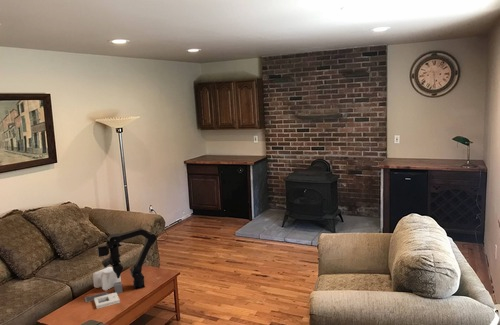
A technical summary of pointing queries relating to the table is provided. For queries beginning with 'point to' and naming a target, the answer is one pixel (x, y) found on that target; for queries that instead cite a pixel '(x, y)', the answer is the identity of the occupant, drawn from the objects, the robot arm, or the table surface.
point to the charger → (118, 287)
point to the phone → (91, 298)
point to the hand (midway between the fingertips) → (117, 275)
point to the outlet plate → (106, 300)
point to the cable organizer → (105, 278)
